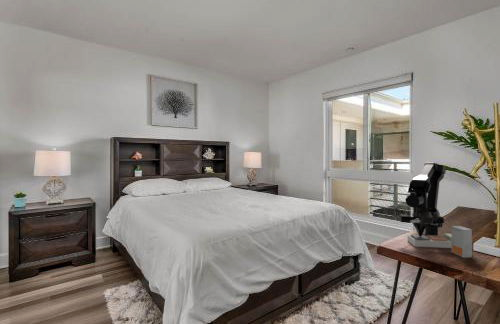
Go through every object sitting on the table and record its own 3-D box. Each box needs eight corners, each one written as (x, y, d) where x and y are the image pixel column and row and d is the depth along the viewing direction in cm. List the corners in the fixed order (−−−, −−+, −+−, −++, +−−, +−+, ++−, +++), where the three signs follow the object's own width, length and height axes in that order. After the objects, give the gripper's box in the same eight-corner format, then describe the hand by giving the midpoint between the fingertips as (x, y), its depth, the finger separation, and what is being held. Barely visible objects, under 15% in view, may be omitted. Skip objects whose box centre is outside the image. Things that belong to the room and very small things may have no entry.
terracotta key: (427, 240, 128) (427, 235, 128) (440, 240, 127) (440, 235, 127) (433, 244, 122) (433, 238, 122) (447, 244, 121) (447, 239, 121)
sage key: (443, 238, 127) (443, 233, 127) (457, 239, 126) (457, 233, 126) (450, 242, 121) (450, 237, 121) (465, 243, 120) (465, 237, 120)
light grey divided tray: (407, 240, 131) (407, 235, 131) (458, 243, 127) (458, 237, 127) (414, 246, 123) (414, 240, 123) (469, 248, 119) (469, 242, 119)
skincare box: (450, 252, 115) (450, 225, 114) (459, 252, 115) (459, 225, 115) (463, 257, 109) (463, 229, 108) (472, 257, 109) (472, 229, 109)
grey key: (410, 239, 130) (410, 234, 130) (424, 239, 129) (424, 235, 129) (416, 243, 124) (416, 238, 124) (430, 243, 123) (430, 238, 123)
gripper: (405, 207, 120) (406, 240, 120) (451, 208, 116) (451, 242, 116) (396, 203, 131) (397, 233, 131) (437, 203, 127) (438, 235, 127)
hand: (420, 236), depth 126 cm, fingers closed
